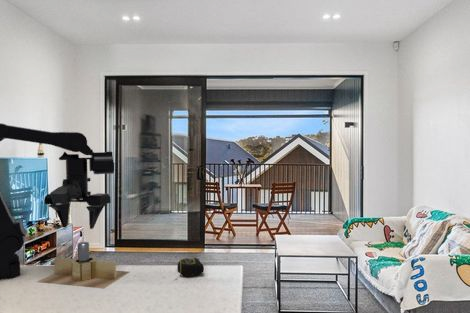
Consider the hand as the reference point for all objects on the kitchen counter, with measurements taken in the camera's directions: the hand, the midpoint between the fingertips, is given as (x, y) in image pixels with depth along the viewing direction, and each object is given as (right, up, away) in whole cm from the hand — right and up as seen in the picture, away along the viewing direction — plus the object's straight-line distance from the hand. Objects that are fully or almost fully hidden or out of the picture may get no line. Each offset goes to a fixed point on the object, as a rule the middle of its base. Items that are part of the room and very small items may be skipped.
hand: (78, 228), depth 105 cm
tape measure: (+34, -12, -5) cm, 36 cm away
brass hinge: (+6, -11, -9) cm, 16 cm away
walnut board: (+6, -12, -9) cm, 16 cm away
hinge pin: (+6, -11, -9) cm, 16 cm away
